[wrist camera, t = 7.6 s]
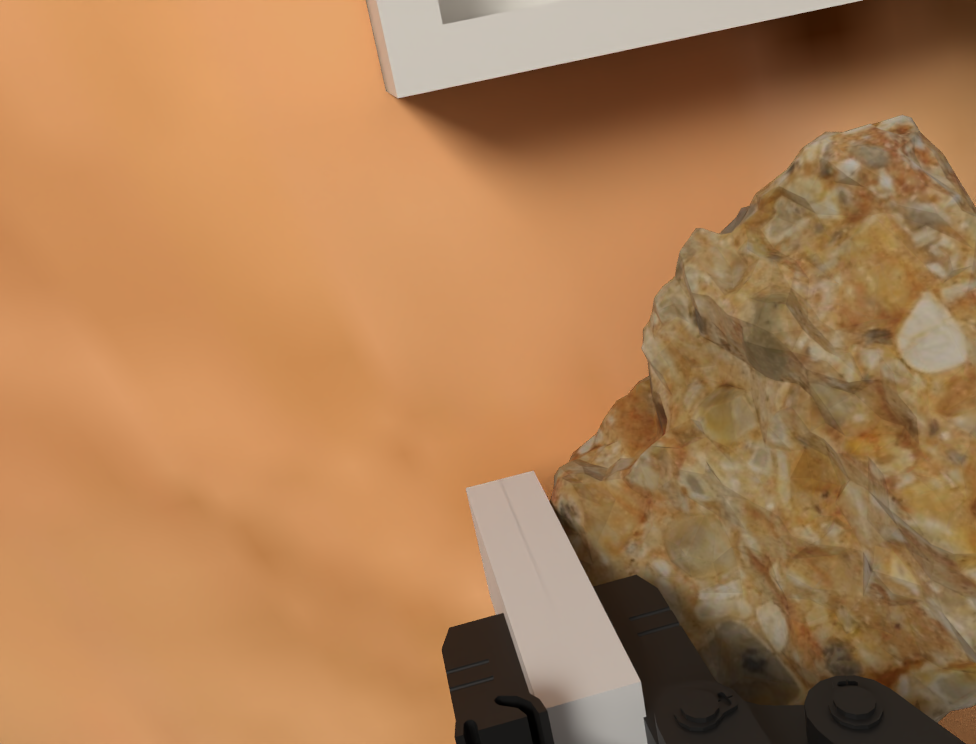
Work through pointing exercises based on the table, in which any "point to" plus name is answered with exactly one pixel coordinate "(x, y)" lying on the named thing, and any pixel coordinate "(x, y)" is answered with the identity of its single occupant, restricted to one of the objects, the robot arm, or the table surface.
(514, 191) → the table surface
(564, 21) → the tray
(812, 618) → the rock
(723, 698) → the robot arm
